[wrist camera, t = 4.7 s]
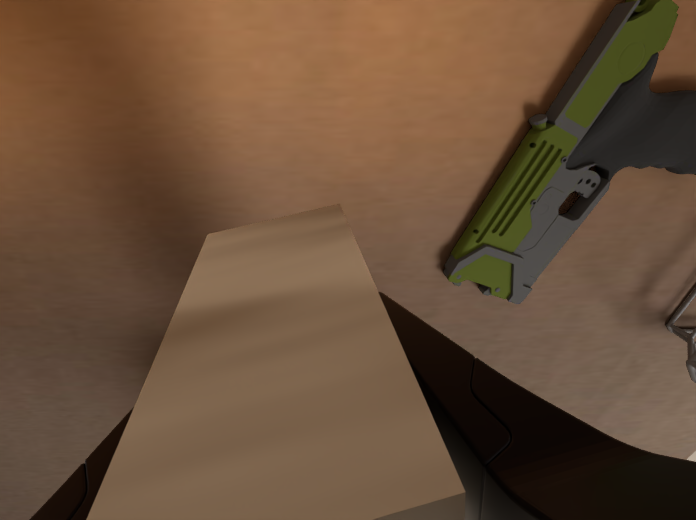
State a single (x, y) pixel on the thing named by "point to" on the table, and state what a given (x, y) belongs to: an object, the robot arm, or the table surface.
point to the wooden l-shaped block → (281, 393)
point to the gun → (580, 153)
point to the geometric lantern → (686, 336)
